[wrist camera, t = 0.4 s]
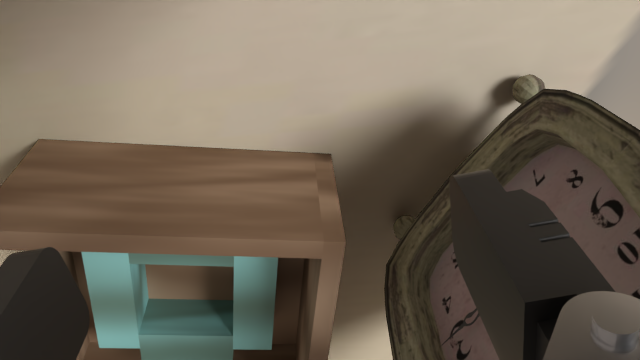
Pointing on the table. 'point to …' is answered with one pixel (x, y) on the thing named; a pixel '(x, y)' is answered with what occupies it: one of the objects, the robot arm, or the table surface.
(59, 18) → the table surface
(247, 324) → the walled box
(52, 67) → the table surface
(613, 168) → the tabletop clock
